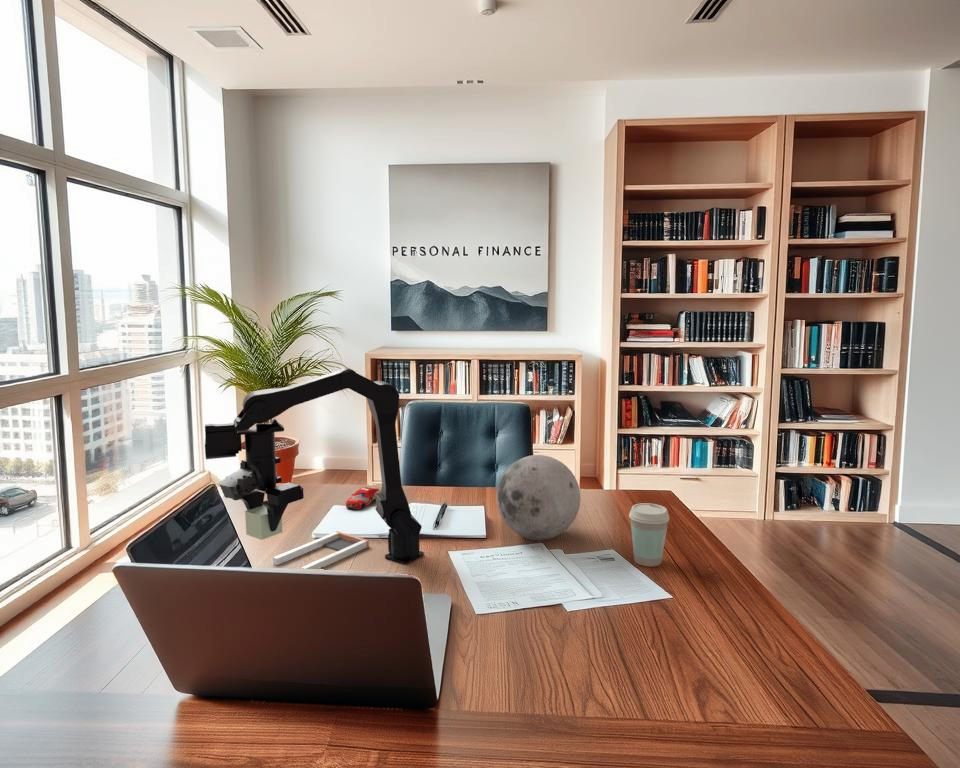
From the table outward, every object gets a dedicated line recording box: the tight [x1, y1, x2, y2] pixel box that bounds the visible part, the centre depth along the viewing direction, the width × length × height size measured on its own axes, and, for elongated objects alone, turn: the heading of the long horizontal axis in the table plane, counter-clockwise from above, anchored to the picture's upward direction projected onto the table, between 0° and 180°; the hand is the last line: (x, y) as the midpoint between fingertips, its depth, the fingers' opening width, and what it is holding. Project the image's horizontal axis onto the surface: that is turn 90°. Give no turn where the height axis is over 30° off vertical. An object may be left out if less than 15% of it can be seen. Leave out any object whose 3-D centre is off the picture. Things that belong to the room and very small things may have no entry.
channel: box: [272, 531, 367, 570], centre depth 145 cm, size 10×18×2 cm, turn 145°
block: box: [244, 505, 283, 541], centre depth 131 cm, size 5×5×5 cm
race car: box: [345, 486, 381, 510], centre depth 181 cm, size 13×5×4 cm, turn 158°
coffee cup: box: [628, 502, 670, 567], centre depth 140 cm, size 8×8×12 cm
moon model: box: [496, 454, 581, 541], centre depth 154 cm, size 20×20×20 cm
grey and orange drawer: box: [322, 531, 370, 552], centre depth 150 cm, size 10×6×2 cm, turn 55°
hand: (264, 528), depth 131 cm, fingers closed on block, 5 cm apart
